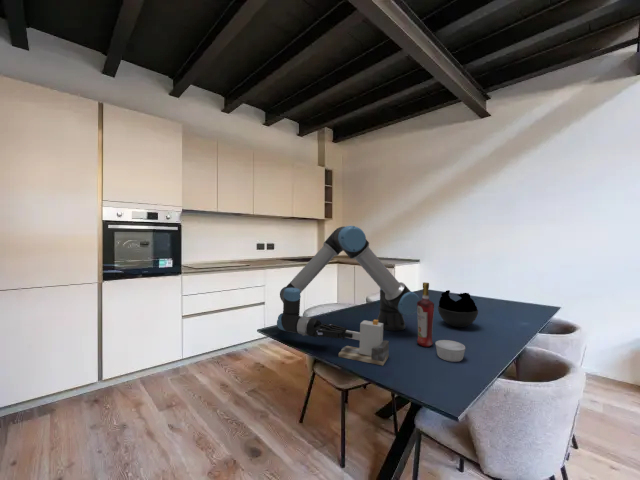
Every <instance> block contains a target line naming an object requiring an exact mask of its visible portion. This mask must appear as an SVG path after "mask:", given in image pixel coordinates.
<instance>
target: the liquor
mask: <svg viewBox="0 0 640 480" xmlns="http://www.w3.org/2000/svg"><path fill="white" fill-rule="evenodd" d="M429 289H430V283H429V282H422V298H421V299H420V301H418V302H417V312H416V315H417V317H416V318H417V340H416V343H418V345H419V346H421V347H424V348H429V347H431V346H432V345H433V344H434V343H433V329H434V328H433V327H434V325H433V324H434V315H435V314H434V312H435V303H434V302H433V301H431V300H430V294H429V292H430V291H429Z"/></svg>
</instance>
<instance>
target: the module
mask: <svg viewBox="0 0 640 480" xmlns="http://www.w3.org/2000/svg"><path fill="white" fill-rule="evenodd" d="M359 324H360V325H359V332H360V340H359V347H358V348H359V354H364V355H369V356H372V348H376V349H378V347H379V346H380V345H381V343H382V342H383V341H384V329H383V323H378V320H377V319H375V318H374V319H373V320H371V321H370V320H365V319H364V320H362V321H361V322H360V323H359Z"/></svg>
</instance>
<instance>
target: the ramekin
mask: <svg viewBox="0 0 640 480" xmlns="http://www.w3.org/2000/svg"><path fill="white" fill-rule="evenodd" d="M434 343H435V348H436V354H437V357H438V358H439V359H441V360H443V361H447V362H453V363H454V362H455V363H458V362H462V360H463V359H464V356H465V351H466V346H465V345H464V344H463V343H462V342H458V341H455V340H448V339H439V340H436V341H435V342H434Z"/></svg>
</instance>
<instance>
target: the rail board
mask: <svg viewBox="0 0 640 480" xmlns="http://www.w3.org/2000/svg"><path fill="white" fill-rule="evenodd" d="M389 344H390V341H389V340H384V339H383V342H382V343H381V345H380V346H379V347H378V349H376V348H372V356H369V355H364V354H359V347H355V346H351V345H350V346H349V345H346V346H344V347H342V348H341V350H340V351H339V352H338V358H343V359H349V360H353V361H359V362H363V363H369V364H373V365H377V366H384V365H385V363H386V362H387V360H388V358H389V355H390V354H389V353H390V352H389V350H390V347H389V346H390V345H389Z"/></svg>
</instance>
